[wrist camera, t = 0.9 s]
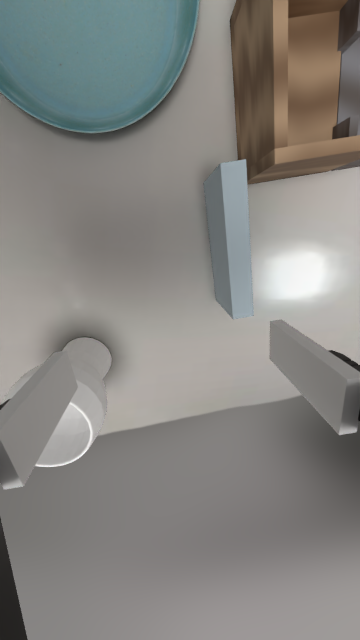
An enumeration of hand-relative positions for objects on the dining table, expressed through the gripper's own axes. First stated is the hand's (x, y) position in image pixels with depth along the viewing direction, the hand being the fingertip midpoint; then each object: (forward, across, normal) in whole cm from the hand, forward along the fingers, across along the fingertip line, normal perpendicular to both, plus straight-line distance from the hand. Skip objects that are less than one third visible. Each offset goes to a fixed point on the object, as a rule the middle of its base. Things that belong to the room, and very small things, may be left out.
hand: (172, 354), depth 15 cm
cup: (+21, -14, -10) cm, 27 cm away
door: (+21, +8, +5) cm, 23 cm away
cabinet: (+21, +20, +21) cm, 36 cm away
